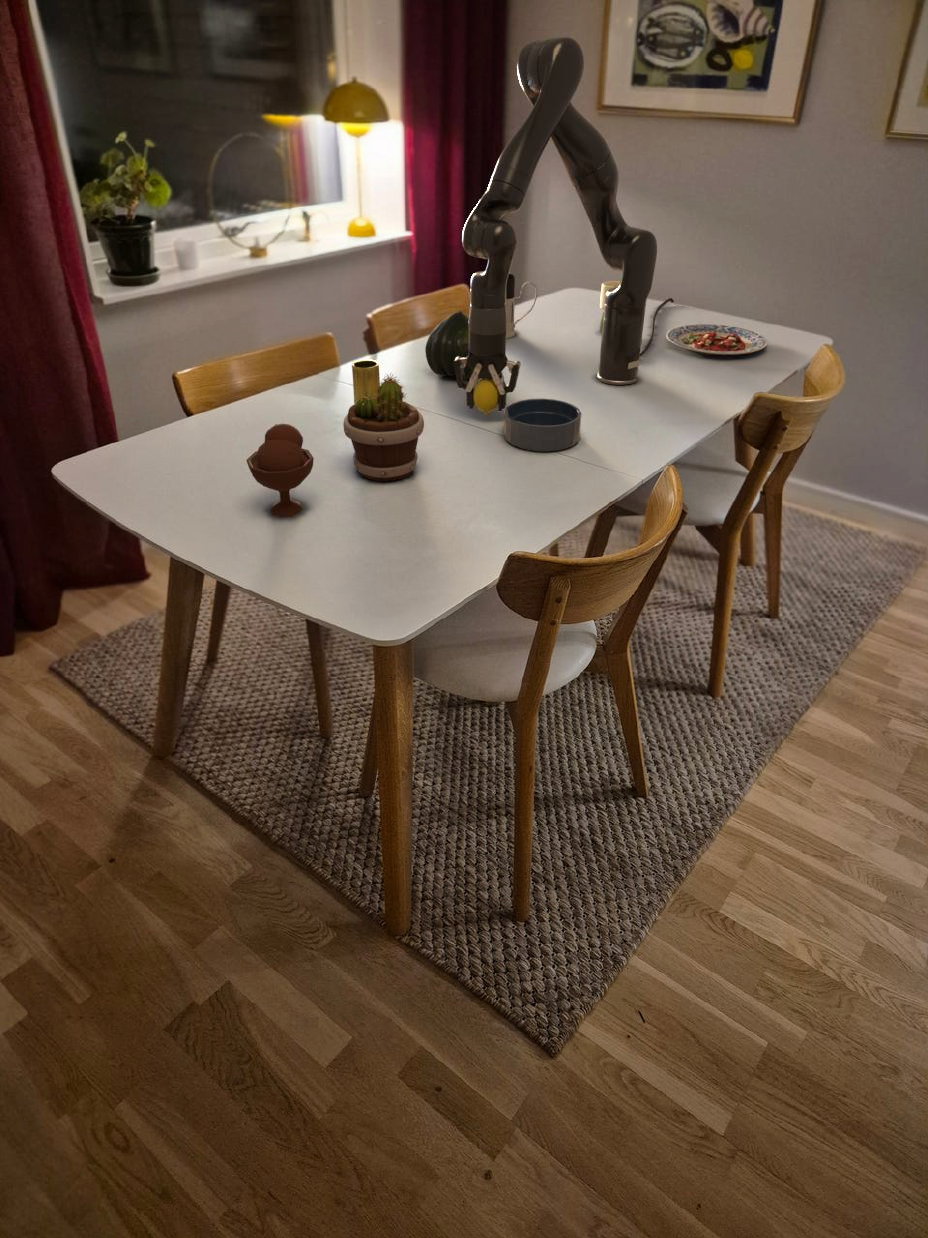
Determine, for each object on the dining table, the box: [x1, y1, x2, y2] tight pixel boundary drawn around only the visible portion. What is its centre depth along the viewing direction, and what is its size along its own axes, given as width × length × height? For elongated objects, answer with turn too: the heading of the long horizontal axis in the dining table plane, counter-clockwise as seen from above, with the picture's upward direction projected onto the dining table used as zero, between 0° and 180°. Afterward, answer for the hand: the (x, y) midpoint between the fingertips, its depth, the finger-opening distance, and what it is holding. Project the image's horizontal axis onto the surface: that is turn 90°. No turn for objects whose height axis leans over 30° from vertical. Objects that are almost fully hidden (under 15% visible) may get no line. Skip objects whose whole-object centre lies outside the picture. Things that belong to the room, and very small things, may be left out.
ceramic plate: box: [666, 323, 769, 357], centre depth 221 cm, size 26×26×3 cm
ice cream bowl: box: [245, 423, 315, 518], centre depth 141 cm, size 11×11×15 cm
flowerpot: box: [342, 372, 425, 482], centre depth 153 cm, size 14×15×20 cm
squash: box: [424, 310, 473, 381], centre depth 200 cm, size 14×15×15 cm
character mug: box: [598, 280, 621, 333], centre depth 227 cm, size 11×7×13 cm, turn 146°
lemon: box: [473, 378, 499, 415], centre depth 176 cm, size 6×6×8 cm
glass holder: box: [506, 273, 538, 339], centre depth 226 cm, size 9×14×15 cm, turn 82°
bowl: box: [503, 398, 582, 453], centre depth 170 cm, size 15×15×6 cm
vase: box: [351, 359, 381, 405], centre depth 169 cm, size 6×6×14 cm
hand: (486, 408), depth 178 cm, fingers closed on lemon, 5 cm apart
